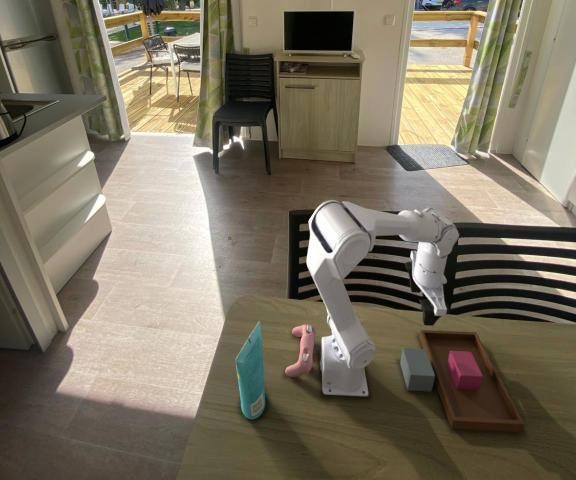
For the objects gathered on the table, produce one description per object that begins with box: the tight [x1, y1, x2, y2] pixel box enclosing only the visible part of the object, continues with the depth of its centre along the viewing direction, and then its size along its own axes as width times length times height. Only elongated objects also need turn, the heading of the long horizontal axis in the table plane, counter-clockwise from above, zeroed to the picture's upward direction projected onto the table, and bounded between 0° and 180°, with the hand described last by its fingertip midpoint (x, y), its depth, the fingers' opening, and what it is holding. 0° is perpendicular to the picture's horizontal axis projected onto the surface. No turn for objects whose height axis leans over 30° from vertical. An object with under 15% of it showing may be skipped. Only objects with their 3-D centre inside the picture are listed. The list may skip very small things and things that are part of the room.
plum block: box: [447, 351, 483, 390], centre depth 63 cm, size 4×4×4 cm
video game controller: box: [284, 323, 317, 378], centre depth 68 cm, size 10×5×7 cm, turn 168°
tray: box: [419, 329, 525, 433], centre depth 64 cm, size 13×16×3 cm
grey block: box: [399, 347, 435, 392], centre depth 64 cm, size 5×5×5 cm
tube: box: [234, 320, 266, 420], centre depth 57 cm, size 7×5×19 cm, turn 156°
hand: (421, 306), depth 69 cm, fingers open, 7 cm apart
